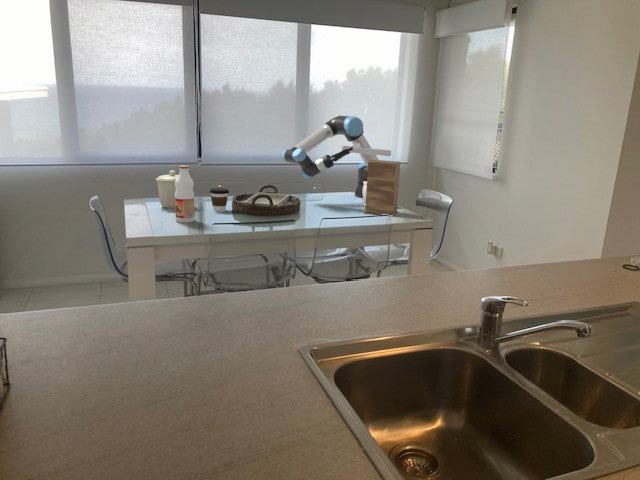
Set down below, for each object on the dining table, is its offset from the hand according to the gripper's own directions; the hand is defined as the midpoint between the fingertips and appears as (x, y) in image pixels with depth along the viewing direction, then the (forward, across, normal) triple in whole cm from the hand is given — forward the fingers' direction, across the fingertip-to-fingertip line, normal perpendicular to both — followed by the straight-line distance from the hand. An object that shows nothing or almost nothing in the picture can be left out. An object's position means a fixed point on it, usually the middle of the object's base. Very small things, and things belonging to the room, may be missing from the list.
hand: (359, 145), depth 306 cm
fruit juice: (-79, +73, +1) cm, 108 cm away
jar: (-16, -20, -35) cm, 44 cm away
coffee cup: (-78, +41, +1) cm, 88 cm away
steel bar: (+2, 0, -6) cm, 6 cm away
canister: (-101, +46, +14) cm, 112 cm away
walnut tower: (-6, 0, -41) cm, 41 cm away
